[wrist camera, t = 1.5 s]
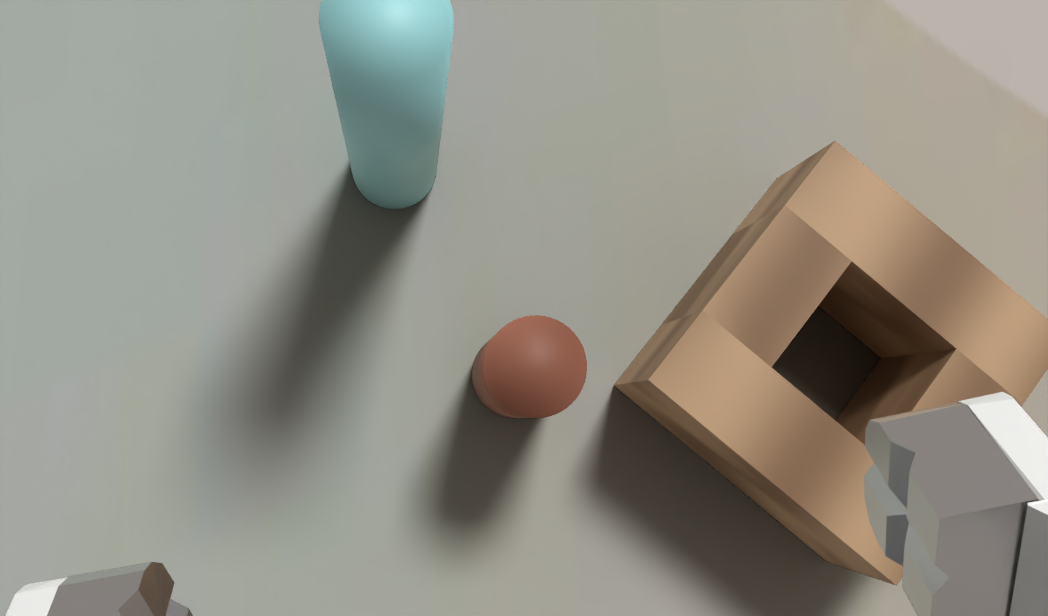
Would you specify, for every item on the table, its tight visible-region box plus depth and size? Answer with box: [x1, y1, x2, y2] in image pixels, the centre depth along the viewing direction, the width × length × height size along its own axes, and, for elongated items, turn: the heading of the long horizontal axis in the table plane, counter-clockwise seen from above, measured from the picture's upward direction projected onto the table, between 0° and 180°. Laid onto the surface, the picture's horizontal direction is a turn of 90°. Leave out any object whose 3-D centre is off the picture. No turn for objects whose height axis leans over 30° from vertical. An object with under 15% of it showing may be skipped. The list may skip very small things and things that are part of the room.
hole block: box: [614, 141, 1048, 586], centre depth 33 cm, size 10×10×5 cm
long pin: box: [319, 0, 454, 209], centre depth 28 cm, size 3×3×13 cm
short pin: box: [472, 316, 587, 418], centre depth 31 cm, size 3×3×6 cm
